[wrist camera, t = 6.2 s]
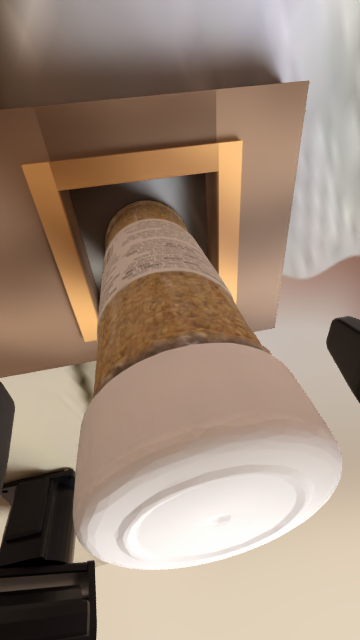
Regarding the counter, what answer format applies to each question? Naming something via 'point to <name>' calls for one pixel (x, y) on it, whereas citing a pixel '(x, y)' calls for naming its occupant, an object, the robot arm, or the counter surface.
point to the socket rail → (128, 166)
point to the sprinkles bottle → (188, 413)
